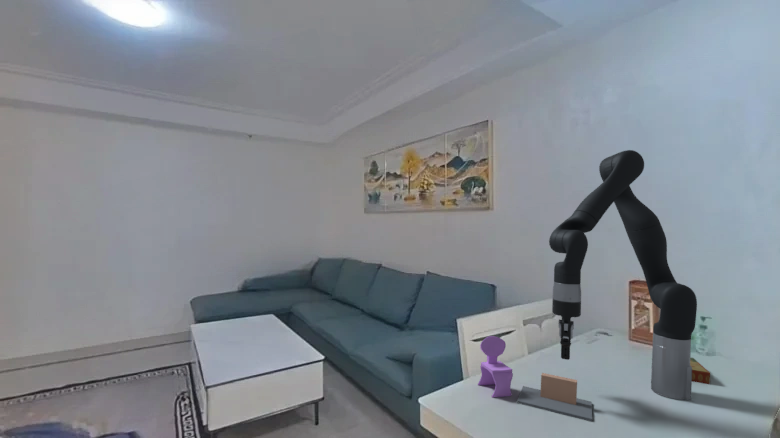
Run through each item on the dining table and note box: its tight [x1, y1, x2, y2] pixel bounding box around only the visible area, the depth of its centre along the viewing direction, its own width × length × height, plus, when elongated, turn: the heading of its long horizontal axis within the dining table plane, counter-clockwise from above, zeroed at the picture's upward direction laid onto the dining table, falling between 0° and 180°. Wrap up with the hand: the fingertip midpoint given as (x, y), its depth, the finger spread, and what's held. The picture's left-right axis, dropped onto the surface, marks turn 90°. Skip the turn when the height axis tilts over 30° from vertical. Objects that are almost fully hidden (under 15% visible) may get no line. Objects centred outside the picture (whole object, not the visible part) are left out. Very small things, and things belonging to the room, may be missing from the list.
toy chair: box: [477, 335, 514, 398], centre depth 110 cm, size 8×9×15 cm
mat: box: [516, 385, 593, 422], centre depth 104 cm, size 18×11×1 cm, turn 63°
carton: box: [690, 356, 711, 385], centre depth 131 cm, size 8×16×4 cm, turn 157°
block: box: [540, 372, 578, 405], centre depth 105 cm, size 9×2×6 cm, turn 62°
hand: (565, 354), depth 110 cm, fingers open, 8 cm apart
